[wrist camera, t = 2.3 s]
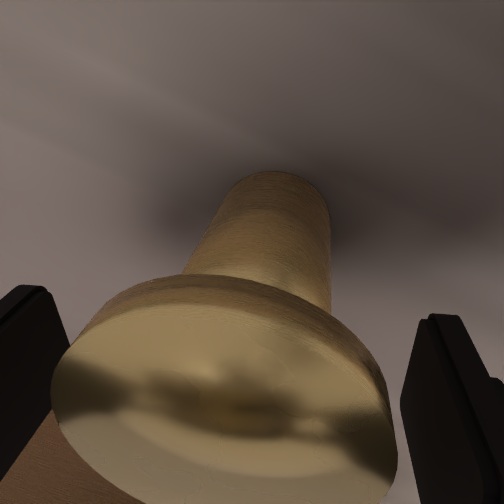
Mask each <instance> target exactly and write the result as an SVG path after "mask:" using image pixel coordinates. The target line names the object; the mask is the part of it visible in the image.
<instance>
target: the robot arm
mask: <svg viewBox="0 0 504 504" xmlns="http://www.w3.org/2000/svg"><path fill="white" fill-rule="evenodd" d="M69 347H70V344H69V341H68V338H67V335H66V332H65V330H64V327H63V324H62V321H61V318H60V316H59V313H58V310H57V307H56V304H55V302H54V299H53V296H52V294H51V293H50V292H48V291H47V289H46V288H45V287H43V286H36V285H18V286H17V287H15V288H14V289H13V290H11V291H10V292H9V293H8V294H7V295H6V296H4V297H3V298H2V299H1V300H0V482H1V480H2V479H3V478H4V476H5V475H6V473H7V472H8V471H9V469H10V468H11V466H12V465H13V463H14V462H15V461H16V459H17V458H18V456H19V455H20V453H21V452H22V451H23V449H24V448H25V446H26V445H27V444H28V442H29V441H30V439H31V438H32V436H33V435H34V434H35V432H36V431H37V429H38V428H39V427H40V425H41V424H42V422H43V421H44V419H45V418H46V417H47V415H48V414H49V412H50V411H51V410H52V403H51V395H50V391H51V380H52V377H53V374H54V371H55V368H56V366H57V364H58V363H59V361H60V360H61V358H62V356H63V355H64V354H65V352H66V351H67V350H68V348H69ZM400 411H401V416H402V420H403V425H404V429H405V434H406V439H407V443H408V448H409V452H410V457H411V461H412V466H413V470H414V475H415V479H416V484H417V488H418V493H419V498H420V502H421V504H504V384H503V382H502V381H501V380H499V379H498V378H493V377H490V376H489V374H488V372H487V370H486V368H485V366H484V364H483V362H482V360H481V358H480V356H479V354H478V352H477V350H476V348H475V346H474V344H473V342H472V340H471V338H470V336H469V334H468V332H467V330H466V328H465V326H464V324H463V322H462V320H461V318H460V317H459V316H457V315H448V314H434V313H432V314H430V315H429V316H428V319H421V320H420V322H419V325H418V329H417V333H416V337H415V341H414V345H413V349H412V353H411V357H410V361H409V365H408V369H407V373H406V377H405V381H404V385H403V389H402V393H401V397H400Z"/></svg>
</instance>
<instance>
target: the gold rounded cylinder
mask: <svg viewBox="0 0 504 504" xmlns="http://www.w3.org/2000/svg"><path fill="white" fill-rule="evenodd" d="M50 395H51V403H52V409H53V412H54V415H55V418H56V421H57V423H58V425H59V427H60V429H61V431H62V433H63V434H64V436H65V437H66V439H67V440H68V442H69V443H70V445H71V446H72V447H73V448H74V450H75V451H76V452H77V453H78V454H79V455H80V457H81V458H82V459H83V460H84V461H86V462H87V463H88V464H89V465H90V466H91V467H92V468H93V469H94V470H95V471H96V472H98V473H99V474H100V475H101V476H103V477H104V478H105V479H106V480H108V481H109V482H111V483H112V484H114V485H115V486H117V487H118V488H119V489H121V490H123V491H124V492H126V493H128V494H129V495H131V496H133V497H134V498H136V499H138V500H140V501H142V502H144V503H146V504H378V503H379V502H380V501H381V500H382V499H383V497H384V496H385V495H386V494H387V493H388V491H389V489H390V487H391V485H392V484H393V482H394V478H395V475H396V471H397V463H398V452H397V446H396V439H395V433H394V427H393V420H392V414H391V408H390V401H389V396H388V391H387V386H386V382H385V379H384V377H383V374H382V372H381V370H380V367H379V366H378V364H377V362H376V361H375V359H374V358H373V356H372V354H371V353H370V351H369V350H368V349H367V348H366V347H365V345H364V344H363V343H362V342H361V341H360V340H359V338H358V337H357V336H356V335H355V334H354V333H352V332H351V331H350V330H349V329H348V328H347V327H346V326H345V325H343V324H342V323H341V322H340V321H339V320H337V319H336V318H334V317H333V316H331V232H330V215H329V211H328V208H327V205H326V203H325V201H324V199H323V198H322V196H321V195H320V194H319V192H318V191H317V190H316V189H315V188H314V187H313V186H312V185H310V184H309V183H308V182H306V181H305V180H303V179H301V178H299V177H297V176H295V175H292V174H288V173H285V172H278V171H267V172H260V173H256V174H253V175H250V176H248V177H246V178H244V179H242V180H241V181H239V182H238V183H237V184H236V185H235V186H234V187H233V188H232V189H231V190H230V191H229V192H228V194H227V195H226V197H225V199H224V200H223V202H222V204H221V206H220V207H219V209H218V211H217V213H216V214H215V216H214V218H213V220H212V221H211V223H210V225H209V227H208V228H207V230H206V232H205V234H204V235H203V237H202V239H201V241H200V242H199V244H198V246H197V247H196V249H195V251H194V253H193V254H192V256H191V258H190V260H189V261H188V263H187V265H186V267H185V268H184V270H183V272H182V274H181V275H174V276H168V277H162V278H157V279H153V280H150V281H147V282H144V283H140V284H137V285H135V286H133V287H131V288H129V289H127V290H125V291H123V292H121V293H119V294H118V295H116V296H115V297H113V298H112V299H111V300H109V301H108V302H106V304H105V305H104V306H103V307H102V308H101V309H100V310H99V311H98V312H97V313H96V314H95V315H94V317H93V318H92V319H91V320H90V322H89V323H88V324H87V326H86V327H85V328H84V329H83V331H82V332H81V333H80V334H79V336H78V337H77V338H76V340H75V341H74V342H73V343H72V345H71V346H70V347H69V348H68V350H67V351H66V352H65V354H64V355H63V356H62V358H61V360H60V361H59V363H58V364H57V366H56V368H55V371H54V374H53V377H52V380H51V391H50Z"/></svg>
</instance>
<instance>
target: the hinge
mask: <svg viewBox="0 0 504 504" xmlns="http://www.w3.org/2000/svg"><path fill="white" fill-rule="evenodd" d="M0 504H146V503H144V502H142V501H140V500H138V499H136V498H134V497H133V496H131V495H129V494H128V493H126V492H124V491H123V490H121V489H119V488H118V487H117V486H115V485H114V484H112V483H111V482H109V481H108V480H106V479H105V478H104V477H103V476H101V475H100V474H99V473H98V472H96V471H95V470H94V469H93V468H92V467H91V466H90V465H89V464H88V463H87V462H86V461H84V460H83V459H82V458H81V457H80V455H79V454H78V453H77V452H76V451H75V450H74V448H73V447H72V446H71V445H70V443H69V442H68V440H67V439H66V437H65V436H64V434H63V433H62V431H61V429H60V427H59V425H58V423H57V421H56V418H55V415H54V412H53V409H52V410H51V411H50V412H49V414H48V415H47V417H46V418H45V419H44V421H43V422H42V424H41V425H40V427H39V428H38V429H37V431H36V432H35V434H34V435H33V436H32V438H31V439H30V441H29V442H28V444H27V445H26V446H25V448H24V449H23V451H22V452H21V453H20V455H19V456H18V458H17V459H16V461H15V462H14V463H13V465H12V466H11V468H10V469H9V471H8V472H7V473H6V475H5V476H4V478H3V479H2V480H1V482H0Z"/></svg>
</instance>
